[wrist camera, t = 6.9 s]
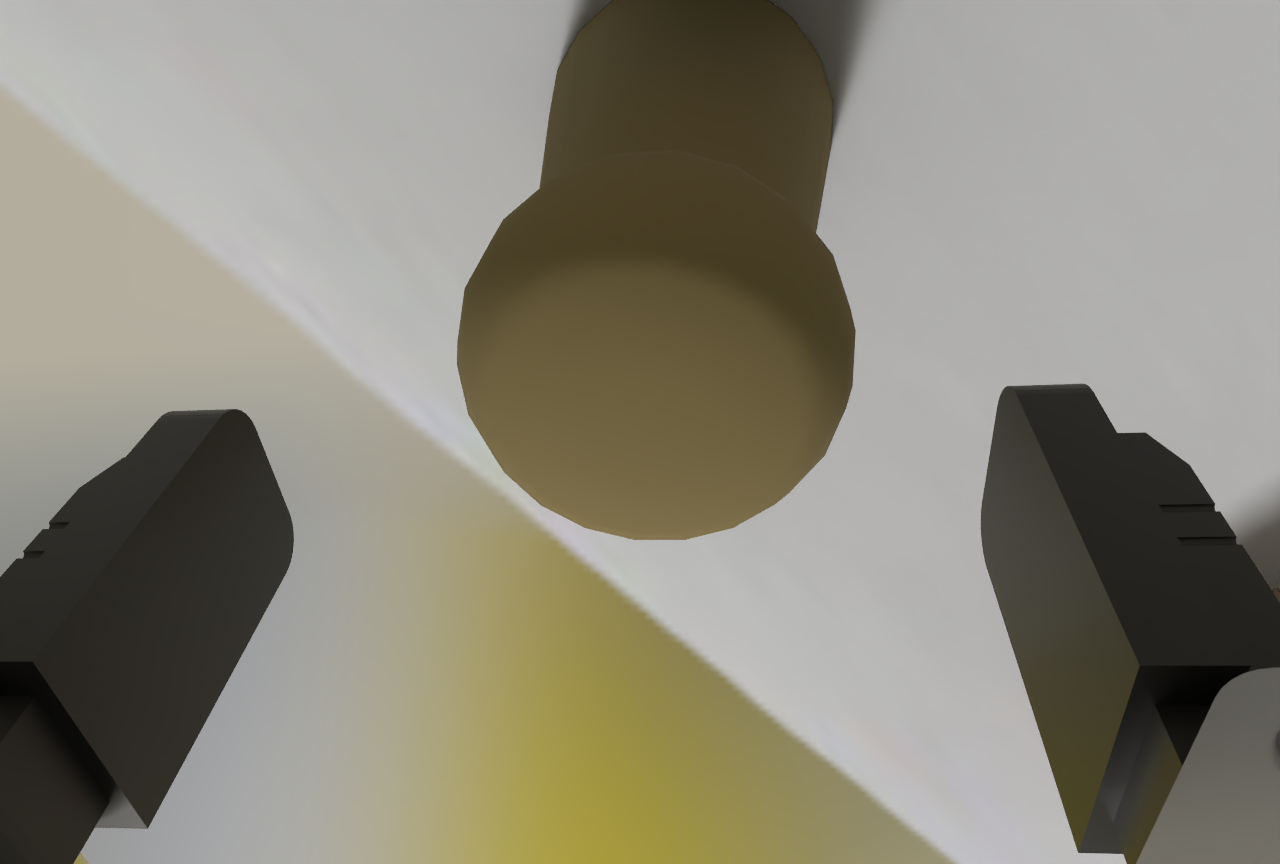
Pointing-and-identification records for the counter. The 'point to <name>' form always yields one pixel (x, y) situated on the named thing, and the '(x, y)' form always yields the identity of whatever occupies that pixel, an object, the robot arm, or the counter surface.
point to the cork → (667, 278)
